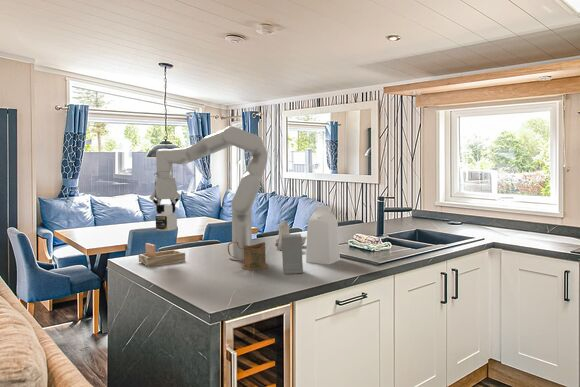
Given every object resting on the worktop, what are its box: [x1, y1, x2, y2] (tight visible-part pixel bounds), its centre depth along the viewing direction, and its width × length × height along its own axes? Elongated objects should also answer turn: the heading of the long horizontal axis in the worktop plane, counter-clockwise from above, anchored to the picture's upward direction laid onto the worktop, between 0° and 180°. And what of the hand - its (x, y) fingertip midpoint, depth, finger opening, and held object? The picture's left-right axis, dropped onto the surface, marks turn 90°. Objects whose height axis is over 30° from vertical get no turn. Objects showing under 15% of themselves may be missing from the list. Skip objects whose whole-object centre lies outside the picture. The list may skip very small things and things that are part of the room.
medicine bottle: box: [155, 203, 178, 231], centre depth 213 cm, size 7×7×12 cm
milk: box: [305, 204, 341, 265], centre depth 208 cm, size 12×12×26 cm
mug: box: [227, 241, 269, 271], centre depth 197 cm, size 12×18×12 cm, turn 111°
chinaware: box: [273, 219, 307, 251], centre depth 243 cm, size 28×17×17 cm, turn 171°
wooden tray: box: [138, 249, 186, 267], centre depth 213 cm, size 12×18×4 cm, turn 129°
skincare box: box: [281, 233, 304, 275], centre depth 185 cm, size 8×7×16 cm
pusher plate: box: [144, 242, 157, 257], centre depth 209 cm, size 9×1×8 cm, turn 39°
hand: (166, 212), depth 213 cm, fingers closed on medicine bottle, 6 cm apart
